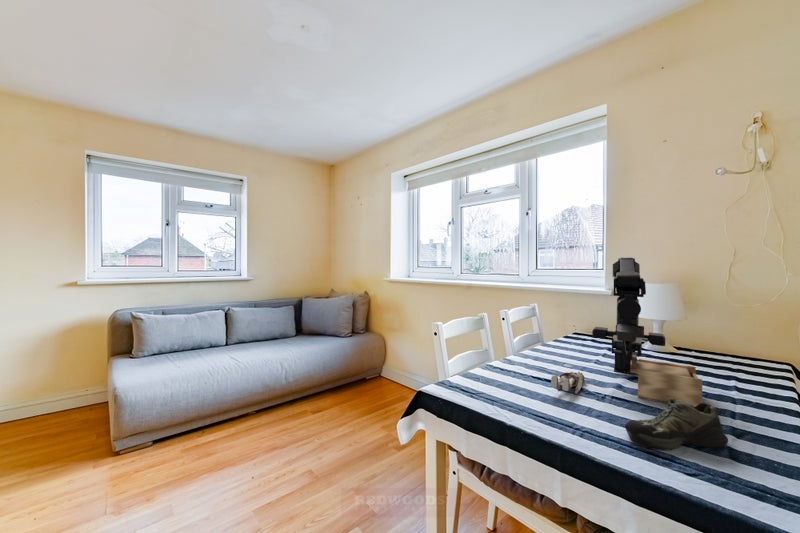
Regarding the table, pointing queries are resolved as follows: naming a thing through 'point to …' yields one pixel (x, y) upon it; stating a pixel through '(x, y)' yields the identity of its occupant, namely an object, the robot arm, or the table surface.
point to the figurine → (568, 381)
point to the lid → (657, 368)
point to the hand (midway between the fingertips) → (626, 362)
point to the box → (669, 385)
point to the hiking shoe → (679, 427)
